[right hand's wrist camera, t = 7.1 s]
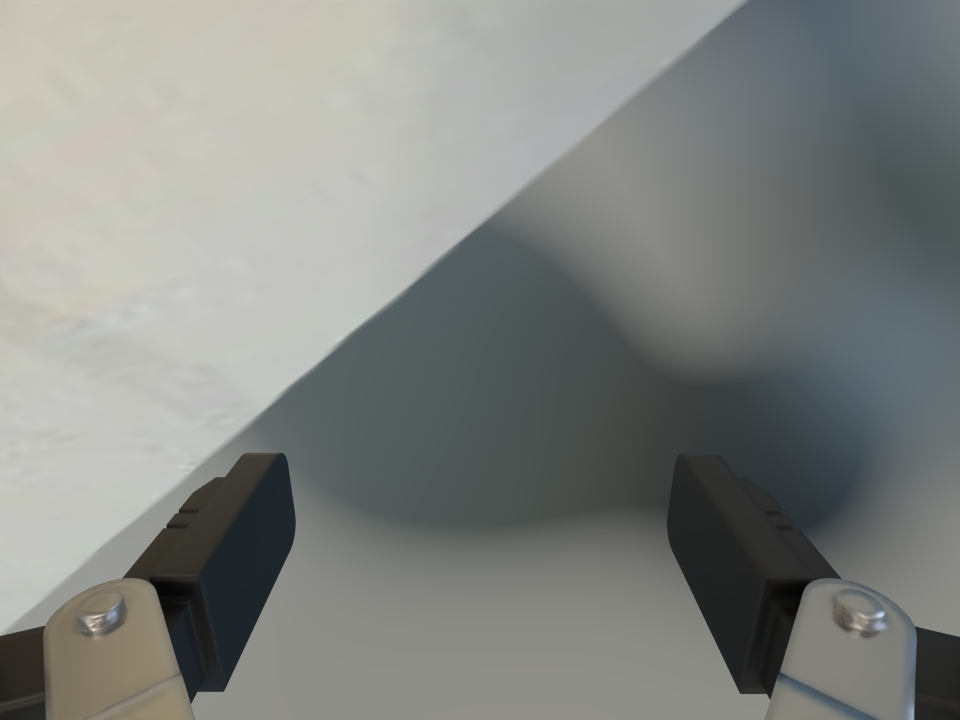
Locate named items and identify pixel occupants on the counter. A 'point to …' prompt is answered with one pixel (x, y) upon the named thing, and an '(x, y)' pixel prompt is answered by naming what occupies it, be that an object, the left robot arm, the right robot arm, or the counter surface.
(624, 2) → the counter surface
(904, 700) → the right robot arm
